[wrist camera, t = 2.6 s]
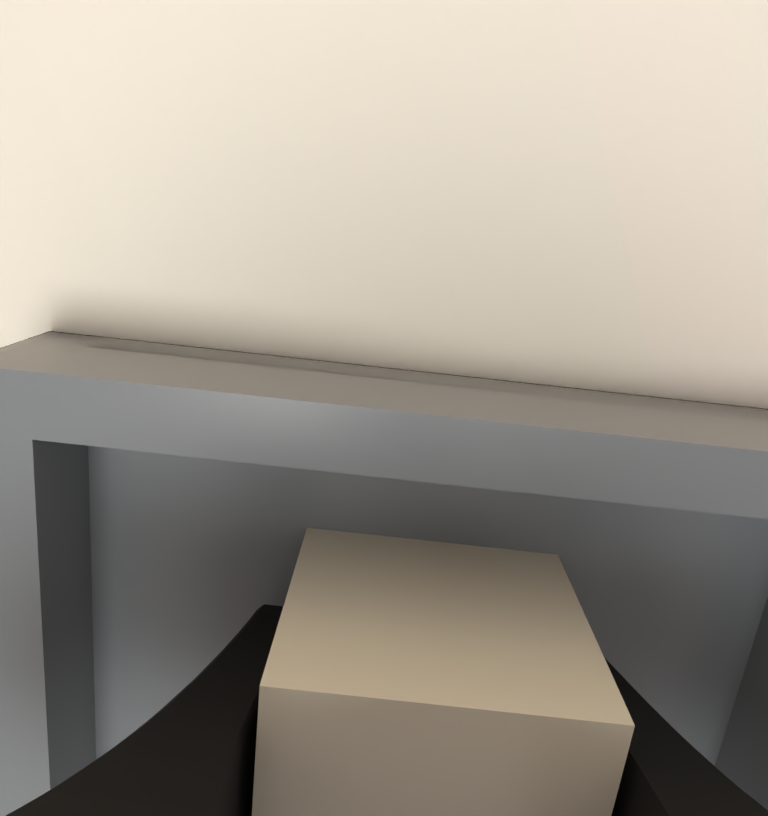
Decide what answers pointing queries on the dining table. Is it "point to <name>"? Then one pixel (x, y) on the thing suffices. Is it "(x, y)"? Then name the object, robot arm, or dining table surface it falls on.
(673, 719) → the parts tray
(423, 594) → the cream matte cube
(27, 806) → the robot arm
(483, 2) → the dining table surface
